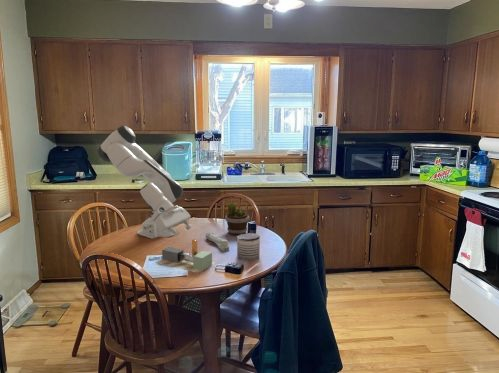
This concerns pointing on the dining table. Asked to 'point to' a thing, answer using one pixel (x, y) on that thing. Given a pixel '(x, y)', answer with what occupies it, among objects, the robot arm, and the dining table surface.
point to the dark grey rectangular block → (171, 254)
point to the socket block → (202, 260)
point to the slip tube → (189, 257)
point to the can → (248, 246)
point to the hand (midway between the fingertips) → (183, 231)
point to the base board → (181, 265)
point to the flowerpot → (236, 220)
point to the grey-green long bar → (218, 241)
